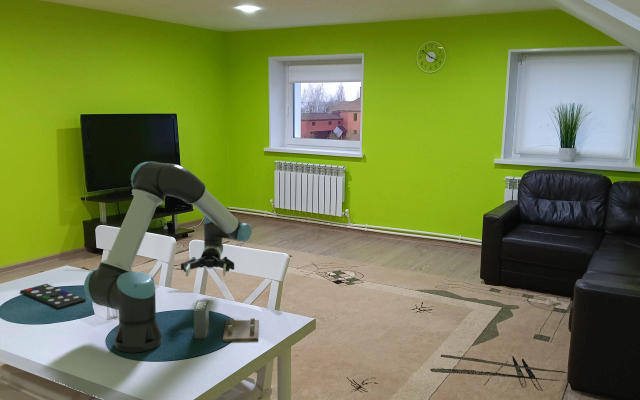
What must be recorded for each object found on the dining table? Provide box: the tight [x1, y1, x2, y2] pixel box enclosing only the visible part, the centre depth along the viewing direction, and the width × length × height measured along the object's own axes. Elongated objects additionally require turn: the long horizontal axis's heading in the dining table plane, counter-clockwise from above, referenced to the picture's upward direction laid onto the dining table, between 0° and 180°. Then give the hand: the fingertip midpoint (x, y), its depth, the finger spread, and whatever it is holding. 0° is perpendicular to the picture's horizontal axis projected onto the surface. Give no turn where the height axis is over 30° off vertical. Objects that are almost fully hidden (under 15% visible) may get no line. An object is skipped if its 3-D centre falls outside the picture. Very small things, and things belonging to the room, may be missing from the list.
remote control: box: [19, 283, 86, 310], centre depth 227 cm, size 11×30×2 cm, turn 54°
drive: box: [193, 300, 210, 339], centre depth 195 cm, size 4×10×10 cm, turn 5°
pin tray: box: [222, 317, 260, 342], centre depth 197 cm, size 12×16×4 cm
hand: (205, 272), depth 205 cm, fingers open, 13 cm apart
